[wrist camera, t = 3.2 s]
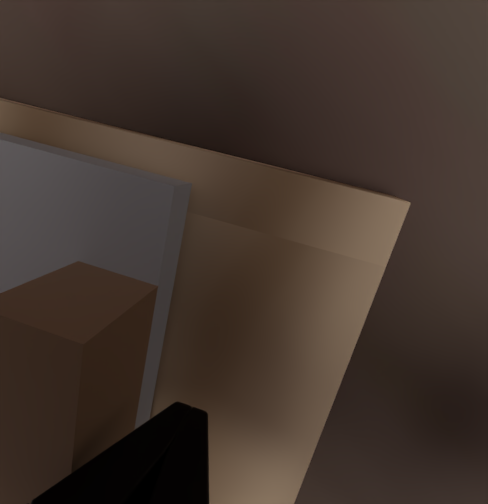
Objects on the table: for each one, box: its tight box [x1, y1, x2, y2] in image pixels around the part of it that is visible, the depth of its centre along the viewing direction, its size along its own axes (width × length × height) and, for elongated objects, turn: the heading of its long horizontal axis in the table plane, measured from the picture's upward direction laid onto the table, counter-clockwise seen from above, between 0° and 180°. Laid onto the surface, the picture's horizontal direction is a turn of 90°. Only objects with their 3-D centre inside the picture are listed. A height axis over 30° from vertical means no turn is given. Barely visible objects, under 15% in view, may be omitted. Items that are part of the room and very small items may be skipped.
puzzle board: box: [0, 98, 411, 504], centre depth 12 cm, size 17×23×2 cm
